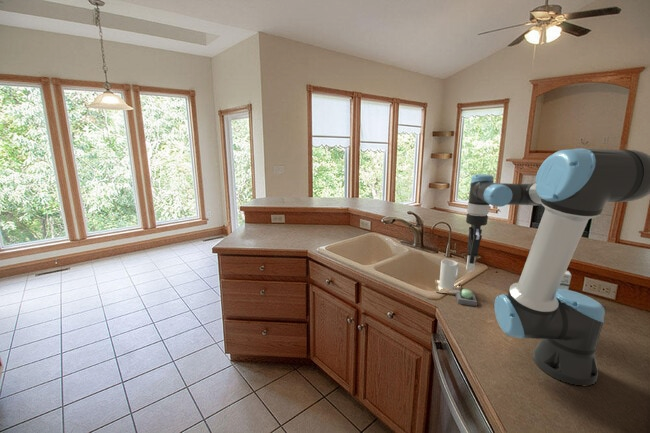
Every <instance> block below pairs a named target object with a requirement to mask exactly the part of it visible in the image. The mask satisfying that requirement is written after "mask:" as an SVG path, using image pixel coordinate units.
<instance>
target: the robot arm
mask: <svg viewBox="0 0 650 433" xmlns="http://www.w3.org/2000/svg"><path fill="white" fill-rule="evenodd" d="M649 195H650V154H648V153H645V152H643V151H639V150H635V149H601V148H582V147H579V148H572V149H561V150H557V151H556V152H554V153H553V154H551V155H549V156H548V157H546V159H545V160H544V161H543V162H542V164H540V166H539V168H538V170H537V173H536V175H535V182H533V183H532V182H531V183H507V182H505V183H503V182H494V176H493V175H492V174H482V173H481V174H480V173H479V174H478V173H477V174H476V173H475V174H473V175H472V176H471V180H470V186H469V196H468V202H467V208H466V212H467V213H466V219H465V222H466V224H468V225H470V226H469V227H468V239H467V240H468V242H467V247H466V248H467V253H466V254H467V255H466V256H467V260H466V267H465V269H466V270H467V271H474V272H475V266H476V259H477V257H478V254H479V251H480V250H479V249H480V244H481V240H482V238H483V236H482V232H483V230H482V228H481V227H482V226H486V225H488V220H489V216H488V214H489V211H490V209H491V206H493V207H504V206H507V205H508V206H509V205H510V206H512V205H513V206H514V205H515V206H533V207H534V206H535V207H536V206H542V207H544V212H543V214H542V216H541V220H540V222H539V224H538V228H537V231H536V233H535V237H534V239H533V242H532V244H531V247H530V249H529V252H528V255H527V258H526V261H525V263H524V267H523V269H522V272H521V275H520V278H519V280H518V281H517V282H514V283H512V284H511V285H510V286H509V289H508V292H507V294H504V293H502V294H500V295H497V296H496V298H495V300H494V314H495V317H496V322H497V324H498V325H499V327H500V329H501V331H503V333H504V334H505V335H506V336H508V337H511V338H517V339H521V340H522V339H539V340H540V339H541V340H540V341H539V342H538V343H537V345H536V346H535V347H534V349H533V354H532V360H533V361H534V363H535V365H536V366H537V367H538V368H539V369H540V370H541V371H543V372H544V373H545V374H547V375H549V376H550V377H552V378H554V379H556V380H558V381H560V380H561V381H560V382H563V381H564V382H563V383H565V382H567V383H566V384H568V383H571V384H570V385H572V384H575V385H574V386H576V385H591V384H594V383H595V382H596V383H597V380H598V376H599V370H598V366H597V365H598V364H597V359H596V349H597V346H598V342H599V338H600V334H601V331H602V328H603V324H604V323H605V319H604V318H605V314H606V310H605V309H606V308H605V307H604V306H603V305H602V304H601V302H599V301H598V300H596V299H594V298H592V297H590V296H588V295H585V294H582V293H580V292H578V291H573V290H570V289H568V290H566V289H558V288H559V286H560V283H561V281H562V279H563V277H564V274H565V272H566V270H567V269H568V267H569V265H570V263H571V261H572V258H573V256H574V254H575V252H576V250H577V247H578V244H579V243H580V240H581V238H582V236H583V233H584V232H585V228H586V227H587V224H588V222H589V220H590V219H594V218H597V217H600V216H601V214H602V212H603V210H604V208H605V206H606V203H623V202H624V203H625V202H633V201H638V200H640V199H643V198H645V197H647V196H649ZM567 271H568V270H567ZM596 383H595V384H596ZM595 384H594V385H595ZM591 386H592V385H591Z"/></svg>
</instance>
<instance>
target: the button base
mask: <svg viewBox="0 0 650 433" xmlns="http://www.w3.org/2000/svg"><path fill="white" fill-rule="evenodd" d="M461 294H462V292H457V291H456V296H455V298H456V303H457V304H458V305H466V306H472V307H477V305H478V300H477V298H476V296H475V293H472V299H463V298H462V297H461Z"/></svg>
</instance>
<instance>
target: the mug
mask: <svg viewBox="0 0 650 433" xmlns="http://www.w3.org/2000/svg"><path fill="white" fill-rule="evenodd" d="M459 274H460V264H459V262H456V261H455V260H453V259H442V260H441V261H440V272H439V280H440V283H439V286H440V287H441V288H445V289H451V290H452V289H454V284H455V282H456V280H457V279H458V275H459Z"/></svg>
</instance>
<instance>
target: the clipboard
mask: <svg viewBox="0 0 650 433" xmlns="http://www.w3.org/2000/svg"><path fill="white" fill-rule="evenodd" d="M439 283H440V279H434V284H435V291H440V290H441V289H443V288H441V287H440V286H439ZM462 290H463V289H462V286H461V285H460V286H457V287H456V288H455V289H453V290H451V291H449V292H448V293H447V294H446V295H448V296H455V297H456V291H457V292H462Z"/></svg>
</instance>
